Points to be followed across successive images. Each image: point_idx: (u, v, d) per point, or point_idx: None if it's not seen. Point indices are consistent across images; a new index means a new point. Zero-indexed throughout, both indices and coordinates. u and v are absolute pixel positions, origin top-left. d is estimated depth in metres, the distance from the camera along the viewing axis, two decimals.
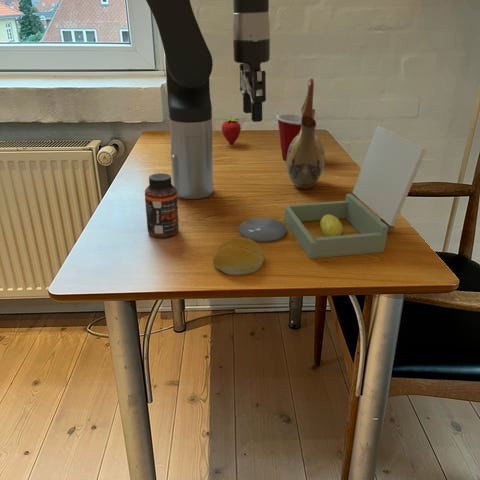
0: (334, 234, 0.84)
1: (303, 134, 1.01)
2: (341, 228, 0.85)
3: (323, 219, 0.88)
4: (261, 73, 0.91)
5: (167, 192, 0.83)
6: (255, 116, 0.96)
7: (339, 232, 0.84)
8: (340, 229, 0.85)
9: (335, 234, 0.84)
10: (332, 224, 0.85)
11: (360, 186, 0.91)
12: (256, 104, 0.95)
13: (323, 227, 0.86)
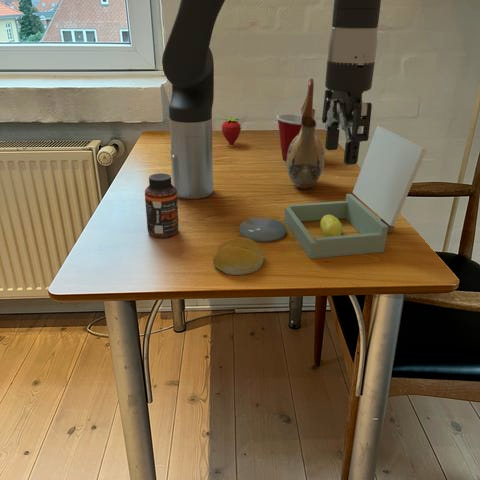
0: (334, 234, 0.84)
1: (303, 134, 1.01)
2: (341, 228, 0.85)
3: (323, 219, 0.88)
4: (366, 106, 0.71)
5: (167, 192, 0.83)
6: (350, 158, 0.76)
7: (339, 232, 0.84)
8: (340, 229, 0.85)
9: (335, 234, 0.84)
10: (332, 224, 0.85)
11: (360, 186, 0.91)
12: (353, 143, 0.75)
13: (323, 227, 0.86)
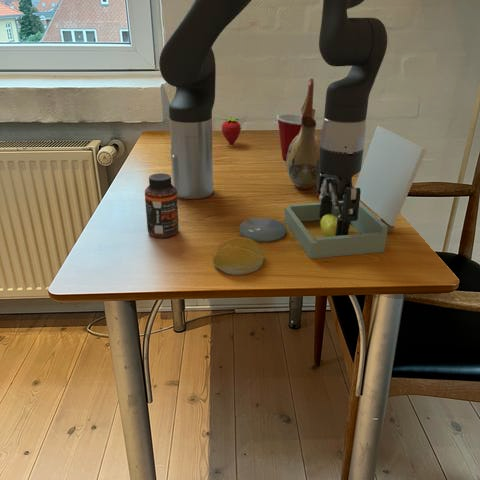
0: (334, 234, 0.84)
1: (303, 134, 1.01)
2: None
3: (323, 219, 0.88)
4: (356, 191, 0.77)
5: (167, 192, 0.83)
6: (341, 234, 0.82)
7: None
8: None
9: None
10: (332, 223, 0.85)
11: (360, 186, 0.91)
12: (344, 222, 0.81)
13: (323, 227, 0.86)
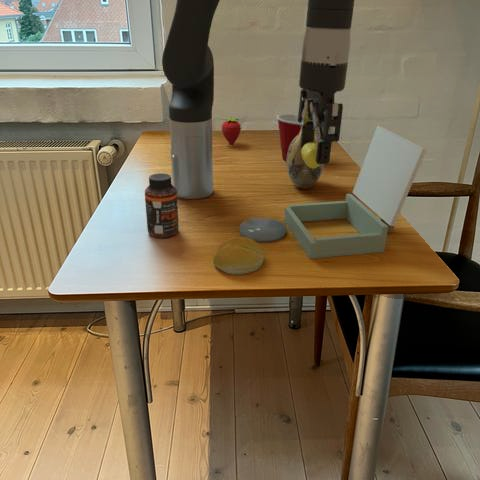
0: (315, 159, 0.78)
1: None
2: None
3: (304, 146, 0.82)
4: (338, 106, 0.71)
5: (167, 192, 0.83)
6: (322, 158, 0.77)
7: None
8: None
9: None
10: (313, 148, 0.79)
11: (360, 186, 0.91)
12: (325, 143, 0.75)
13: (304, 153, 0.80)
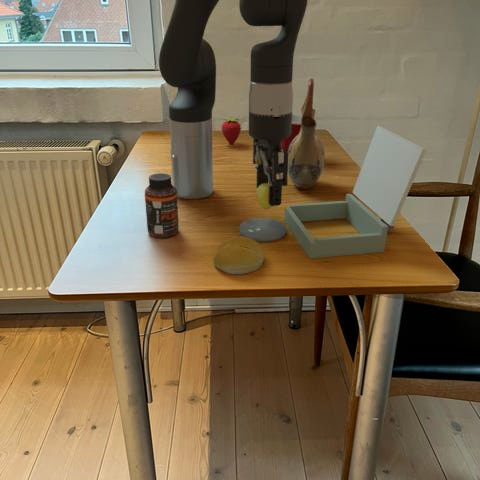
0: (267, 201, 0.83)
1: (303, 134, 1.01)
2: None
3: (259, 187, 0.87)
4: (283, 155, 0.76)
5: (167, 192, 0.83)
6: (273, 200, 0.81)
7: None
8: None
9: (268, 201, 0.83)
10: (266, 191, 0.84)
11: (360, 186, 0.91)
12: (275, 187, 0.80)
13: (258, 195, 0.85)
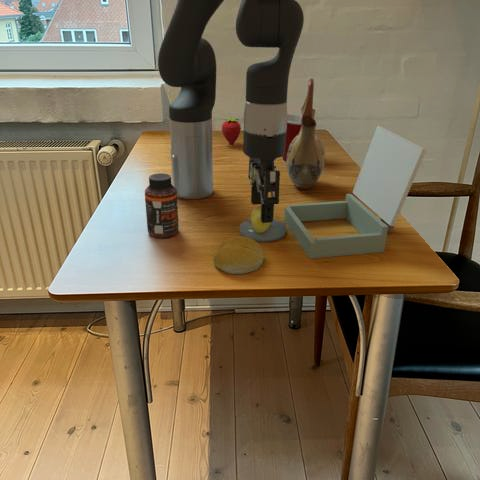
0: (261, 225, 0.85)
1: (303, 134, 1.01)
2: None
3: (254, 211, 0.89)
4: (275, 174, 0.77)
5: (167, 192, 0.83)
6: (265, 218, 0.82)
7: (266, 223, 0.85)
8: None
9: (262, 225, 0.85)
10: (260, 215, 0.85)
11: (360, 186, 0.91)
12: (267, 205, 0.81)
13: (252, 218, 0.87)
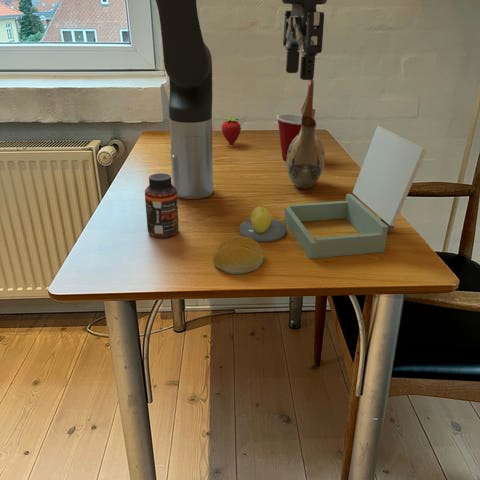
0: (261, 225, 0.85)
1: (303, 134, 1.01)
2: (269, 220, 0.86)
3: (254, 211, 0.89)
4: (319, 15, 0.72)
5: (167, 192, 0.83)
6: (305, 72, 0.77)
7: (266, 223, 0.85)
8: (268, 220, 0.86)
9: (262, 225, 0.85)
10: (260, 215, 0.85)
11: (360, 186, 0.91)
12: (308, 56, 0.76)
13: (252, 218, 0.87)
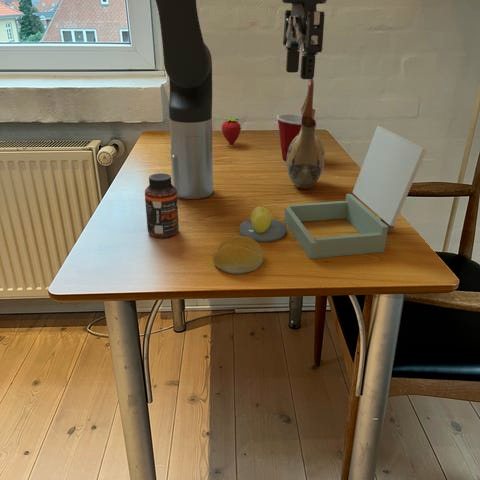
0: (261, 225, 0.85)
1: (303, 134, 1.01)
2: (269, 220, 0.86)
3: (254, 211, 0.89)
4: (319, 14, 0.72)
5: (167, 192, 0.83)
6: (306, 72, 0.77)
7: (266, 223, 0.85)
8: (268, 220, 0.86)
9: (262, 225, 0.85)
10: (260, 215, 0.85)
11: (360, 186, 0.91)
12: (308, 56, 0.76)
13: (252, 218, 0.87)
